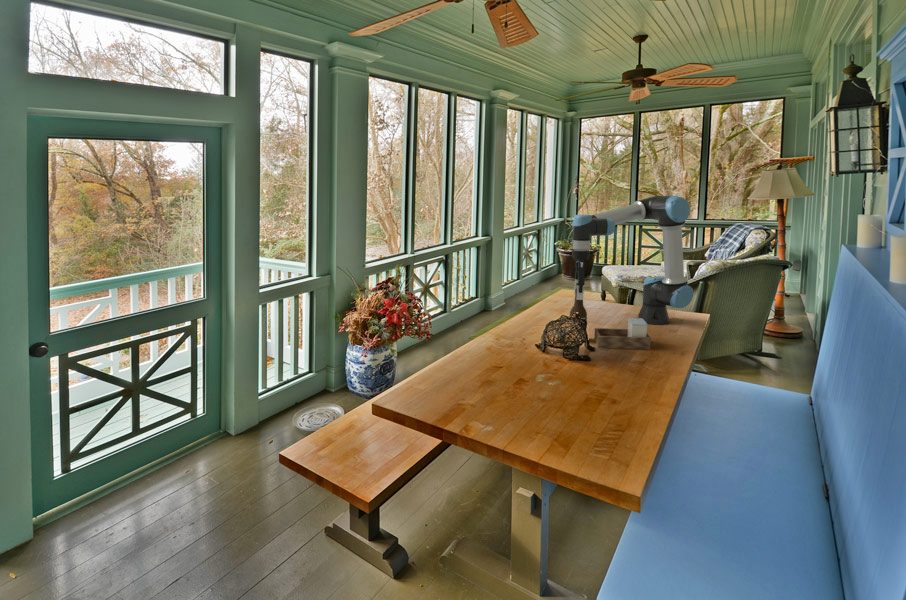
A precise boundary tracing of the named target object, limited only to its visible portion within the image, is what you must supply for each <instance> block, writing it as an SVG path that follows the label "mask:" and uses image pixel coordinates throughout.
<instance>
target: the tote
mask: <svg viewBox="0 0 906 600" xmlns="http://www.w3.org/2000/svg"><path fill="white" fill-rule="evenodd" d="M593 334H594V337H593V340H594V342H595V344H596V346H597V348H600V349H601V348H603V349H605V348H606V349H633V350H650V349H651V340H652V339H651V336H650V335H649V334H648V332H646V337H628V328H605V327H602V328H599V327H595V328H594V333H593Z"/></svg>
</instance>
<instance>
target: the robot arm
mask: <svg viewBox="0 0 906 600" xmlns="http://www.w3.org/2000/svg"><path fill="white" fill-rule="evenodd" d="M690 214H691V206H690V204H689V201H688V200H687V199H685V198H684V196H683V197H682V196H678V195H655V196H650V197H647V198H643V199H639V200H635V201H634V202H633V203H632V204H629V205H625V206H620V207H617V208H614V209H613V208H612V209H609V210H606V211H605V210H604V211H601V212H599V213H594V214H585V213H584V214H580V213H579V214H576V215H574V217H573V218H574V219H573V220H572V225H571V226H572V233H573V235H572V242H570V243H571V245H572V253H571V257H572V259H573V260H576V261H575V271H574V289H573V291H574V292H573V293H574V294H575V293H576V291H575V289H576V288H577V300H583V301H584V289H585V271H586V269H585V268H586V263H585V261H584V260H589V258H590V254H591V253H590V249H591V237H593V236H594V237H595V236H597V237H598V236H599V237H600V236H601V237H603V236H605V237H606V236H612V234H614V232H615V230H616V225H620V224H621V225H622V224H625V223H628V222H631V221H635V220H637V221H644V220H654V221H657V222H658V227H659V228H660V229H661V231H662V245H663V248H662V249H663V251H662V252H663V264H664V265H663V266H664V267H663V269H664V276H650V277H646V278H644V279H643V280H644V281H643V287H642V293H643V294H642V304H641V305H642V306H641V308H640V311H639V313H638V315H637V318H641V319H644V321H645V322H646V323H647V324H648V325H666V324H668V323H669V322H670V317H669V313H668V309H667V306H668V307H672V308H676V309H684V308H686V307H688V306H689V305H690V303H691V302H692V300H693V298H694V289H693V288H692V286H690V285H688V283H689V281H688V278H686V277H685V273H684V272H685V271H684V270H685V269H684V248H683V227H684V226H685V225H686V221H687V220H688V219H689V216H690Z"/></svg>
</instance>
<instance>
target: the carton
mask: <svg viewBox="0 0 906 600" xmlns="http://www.w3.org/2000/svg"><path fill="white" fill-rule="evenodd" d="M627 320H628V322H627V323H628V324H627V329H628V337H646V333H648V332H647V329H648V328H647V327H648V325H649V324H647V323H646V322H645V321H644V319H641V318H638V317H637V318H635V317H634V318H633V317H628V318H627Z"/></svg>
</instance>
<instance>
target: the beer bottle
mask: <svg viewBox="0 0 906 600" xmlns="http://www.w3.org/2000/svg"><path fill="white" fill-rule="evenodd" d="M574 290H575V291H576V293H575V295H574V304H573V306H572V308H571V309H570V311H569V317H572V316H573V314H574V312H579V317H580V318H581V319H584V320H585V321H586V327H587V325H588V324H587V321H588V320H587V319H588V312H587V309H586V308H585V306H584V299H583V300H577V288H576V289H575V288H574Z"/></svg>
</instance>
